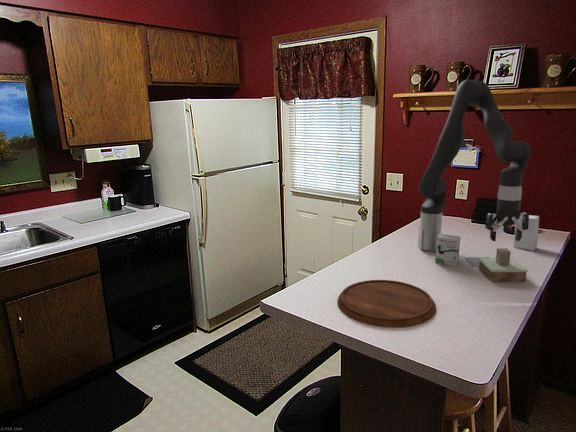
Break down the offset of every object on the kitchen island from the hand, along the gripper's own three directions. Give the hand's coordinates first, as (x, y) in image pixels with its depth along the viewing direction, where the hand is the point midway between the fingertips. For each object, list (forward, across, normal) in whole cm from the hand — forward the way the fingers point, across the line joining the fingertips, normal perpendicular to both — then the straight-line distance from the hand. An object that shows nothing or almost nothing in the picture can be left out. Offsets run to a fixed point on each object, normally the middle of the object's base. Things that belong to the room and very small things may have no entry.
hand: (505, 240), depth 153 cm
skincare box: (+15, +24, +34) cm, 44 cm away
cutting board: (+15, -47, -22) cm, 54 cm away
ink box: (+14, -16, +14) cm, 26 cm away
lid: (+10, 0, 0) cm, 10 cm away
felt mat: (+14, -2, +15) cm, 21 cm away
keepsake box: (+14, 0, 0) cm, 14 cm away
